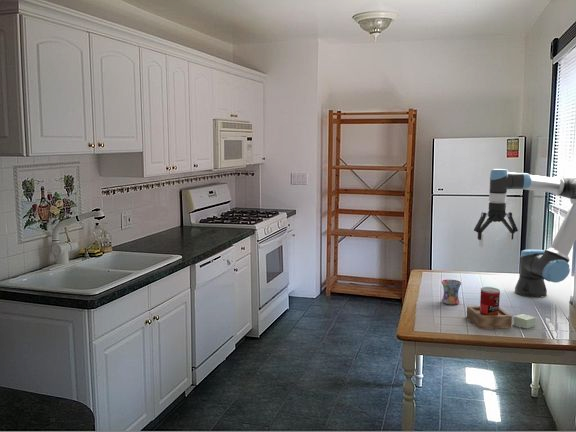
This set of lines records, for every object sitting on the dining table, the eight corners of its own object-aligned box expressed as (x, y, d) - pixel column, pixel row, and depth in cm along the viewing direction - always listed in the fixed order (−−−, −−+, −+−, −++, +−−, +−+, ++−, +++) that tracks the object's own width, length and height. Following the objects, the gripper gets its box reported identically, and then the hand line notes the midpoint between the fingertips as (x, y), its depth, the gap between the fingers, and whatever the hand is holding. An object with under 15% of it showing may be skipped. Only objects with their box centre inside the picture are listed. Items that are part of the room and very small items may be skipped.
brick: (521, 322, 240) (522, 313, 239) (534, 326, 235) (535, 317, 234) (513, 325, 236) (514, 316, 236) (526, 329, 231) (526, 320, 231)
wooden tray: (497, 317, 246) (497, 306, 245) (511, 327, 232) (511, 316, 231) (466, 317, 245) (467, 306, 245) (478, 328, 232) (479, 316, 231)
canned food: (489, 317, 233) (491, 292, 231) (475, 312, 240) (476, 288, 238) (502, 315, 236) (504, 290, 235) (488, 309, 243) (489, 285, 242)
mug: (456, 307, 261) (457, 285, 259) (437, 303, 266) (438, 282, 264) (464, 301, 270) (465, 280, 269) (446, 297, 276) (447, 277, 274)
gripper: (519, 200, 261) (517, 244, 264) (468, 201, 260) (466, 245, 263) (527, 202, 254) (524, 247, 257) (474, 203, 253) (472, 248, 256)
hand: (494, 246), depth 260 cm, fingers open, 13 cm apart
